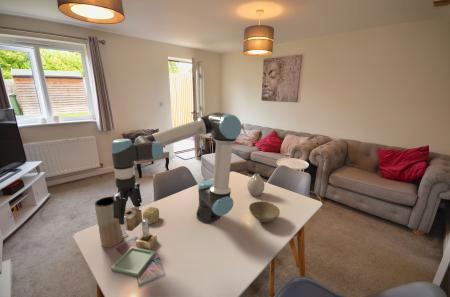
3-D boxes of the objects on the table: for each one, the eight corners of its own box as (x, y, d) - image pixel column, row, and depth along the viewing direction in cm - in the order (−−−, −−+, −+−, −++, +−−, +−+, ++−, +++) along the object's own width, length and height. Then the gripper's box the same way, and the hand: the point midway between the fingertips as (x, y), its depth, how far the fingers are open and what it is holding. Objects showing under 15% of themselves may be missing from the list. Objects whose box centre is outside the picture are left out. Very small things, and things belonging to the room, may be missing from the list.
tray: (155, 253, 96) (155, 251, 95) (137, 276, 83) (137, 273, 83) (131, 248, 99) (131, 246, 98) (111, 270, 86) (110, 267, 86)
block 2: (157, 241, 104) (156, 234, 103) (149, 250, 98) (148, 243, 97) (145, 238, 106) (144, 232, 105) (136, 248, 99) (135, 241, 98)
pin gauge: (151, 242, 103) (149, 218, 99) (148, 247, 100) (145, 222, 96) (146, 241, 103) (144, 217, 100) (142, 245, 101) (140, 221, 97)
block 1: (142, 221, 92) (141, 210, 90) (131, 231, 85) (130, 218, 84) (129, 219, 94) (128, 207, 92) (117, 228, 87) (116, 215, 86)
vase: (265, 198, 148) (266, 177, 144) (247, 198, 149) (248, 177, 144) (262, 191, 161) (263, 171, 157) (246, 190, 161) (247, 171, 157)
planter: (108, 233, 109) (102, 195, 103) (126, 234, 109) (121, 196, 103) (96, 247, 99) (89, 206, 94) (116, 247, 99) (110, 206, 93)
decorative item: (149, 230, 118) (157, 219, 115) (136, 220, 118) (144, 208, 115) (157, 221, 127) (165, 211, 124) (145, 211, 127) (153, 201, 124)
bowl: (284, 220, 123) (285, 208, 121) (268, 234, 110) (269, 221, 108) (259, 208, 135) (259, 198, 133) (242, 220, 122) (242, 208, 120)
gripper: (134, 167, 94) (138, 211, 100) (97, 184, 75) (105, 237, 81) (147, 169, 92) (151, 213, 98) (113, 187, 73) (120, 240, 79)
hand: (130, 224), depth 89 cm, fingers closed on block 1, 7 cm apart
